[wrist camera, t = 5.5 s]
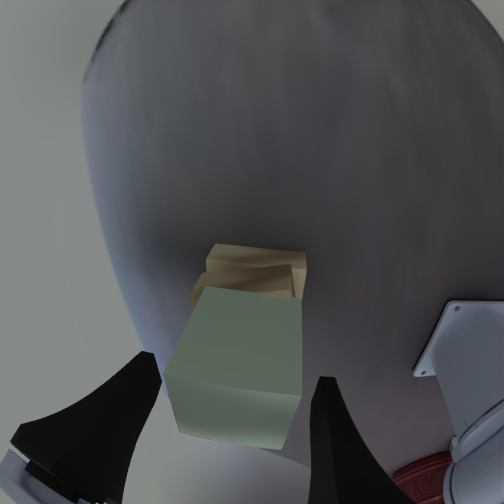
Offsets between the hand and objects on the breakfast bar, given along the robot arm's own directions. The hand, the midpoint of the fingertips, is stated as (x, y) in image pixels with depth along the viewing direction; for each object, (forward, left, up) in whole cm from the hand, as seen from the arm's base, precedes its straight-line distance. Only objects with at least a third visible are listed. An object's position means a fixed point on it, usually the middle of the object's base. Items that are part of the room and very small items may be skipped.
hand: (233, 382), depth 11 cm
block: (0, 0, -3) cm, 3 cm away
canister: (-32, +37, -8) cm, 50 cm away
